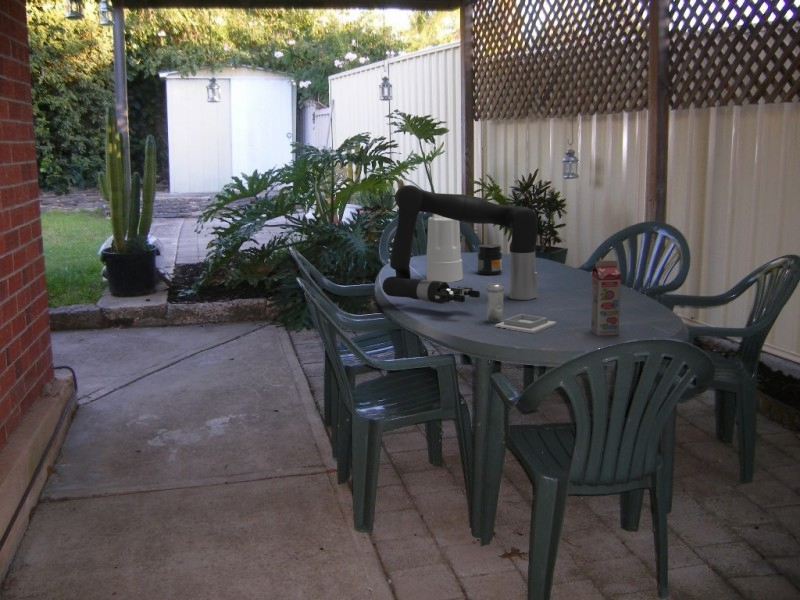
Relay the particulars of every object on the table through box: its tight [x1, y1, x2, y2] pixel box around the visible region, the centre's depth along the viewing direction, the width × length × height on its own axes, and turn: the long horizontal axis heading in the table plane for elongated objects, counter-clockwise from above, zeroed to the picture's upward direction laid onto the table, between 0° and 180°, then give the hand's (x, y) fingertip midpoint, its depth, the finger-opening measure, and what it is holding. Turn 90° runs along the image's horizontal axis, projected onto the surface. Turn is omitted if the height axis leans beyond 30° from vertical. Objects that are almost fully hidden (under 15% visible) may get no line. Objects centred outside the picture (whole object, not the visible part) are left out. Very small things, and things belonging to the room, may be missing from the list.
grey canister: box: [486, 282, 505, 323], centre depth 269 cm, size 6×6×12 cm
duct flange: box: [494, 313, 557, 334], centre depth 262 cm, size 14×14×2 cm
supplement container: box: [476, 243, 503, 276], centre depth 353 cm, size 10×10×12 cm
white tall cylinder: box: [425, 213, 464, 283], centre depth 342 cm, size 15×15×33 cm
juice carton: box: [590, 260, 622, 337], centre depth 250 cm, size 7×7×22 cm
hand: (471, 296), depth 274 cm, fingers open, 8 cm apart
